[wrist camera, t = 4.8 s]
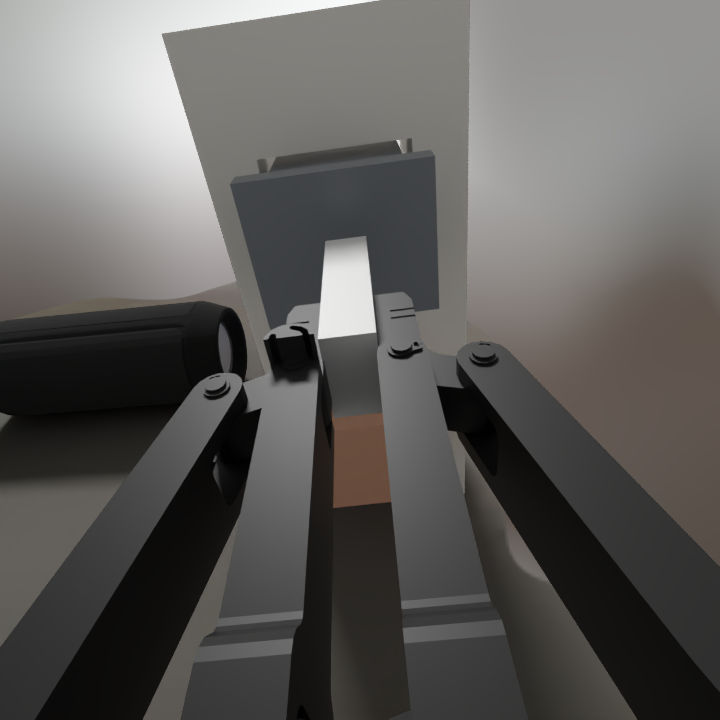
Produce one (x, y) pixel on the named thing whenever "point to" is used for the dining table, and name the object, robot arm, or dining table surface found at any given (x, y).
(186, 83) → the button panel
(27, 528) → the dining table surface
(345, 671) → the dining table surface
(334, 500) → the lower button
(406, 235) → the upper button
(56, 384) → the portable speaker
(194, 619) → the dining table surface
